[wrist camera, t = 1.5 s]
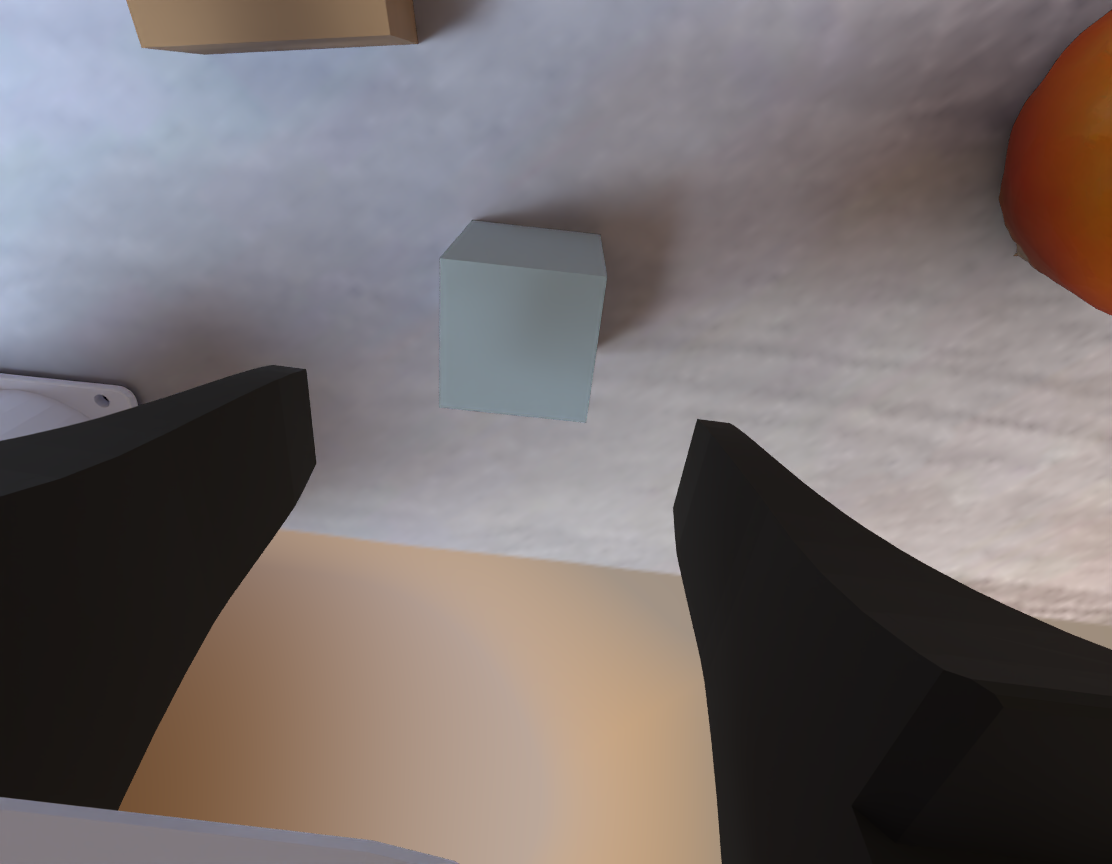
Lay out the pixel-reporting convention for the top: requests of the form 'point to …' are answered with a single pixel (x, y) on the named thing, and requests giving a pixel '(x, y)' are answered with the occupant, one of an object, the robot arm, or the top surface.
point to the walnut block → (271, 24)
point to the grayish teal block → (520, 320)
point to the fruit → (1066, 170)
